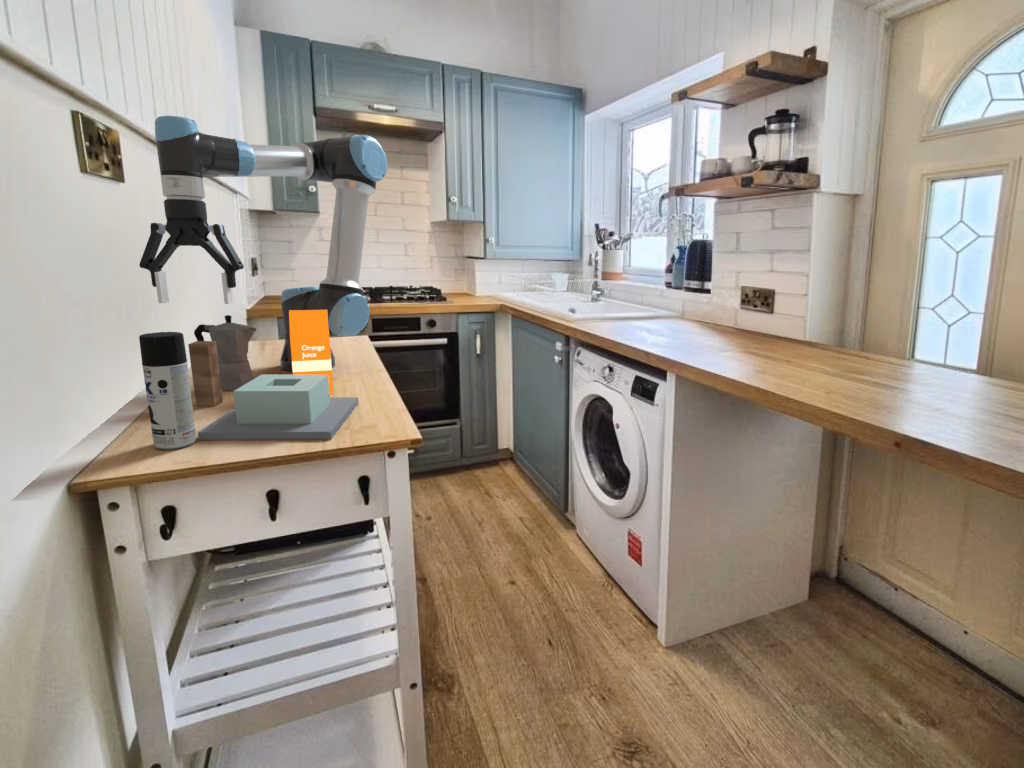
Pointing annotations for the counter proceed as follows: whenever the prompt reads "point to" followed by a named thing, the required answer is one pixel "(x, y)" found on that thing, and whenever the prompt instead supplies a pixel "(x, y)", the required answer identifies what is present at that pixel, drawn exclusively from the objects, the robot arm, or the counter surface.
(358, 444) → the counter surface
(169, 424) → the spray can
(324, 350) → the orange juice
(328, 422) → the socket block
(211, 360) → the peg
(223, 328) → the coffeepot
